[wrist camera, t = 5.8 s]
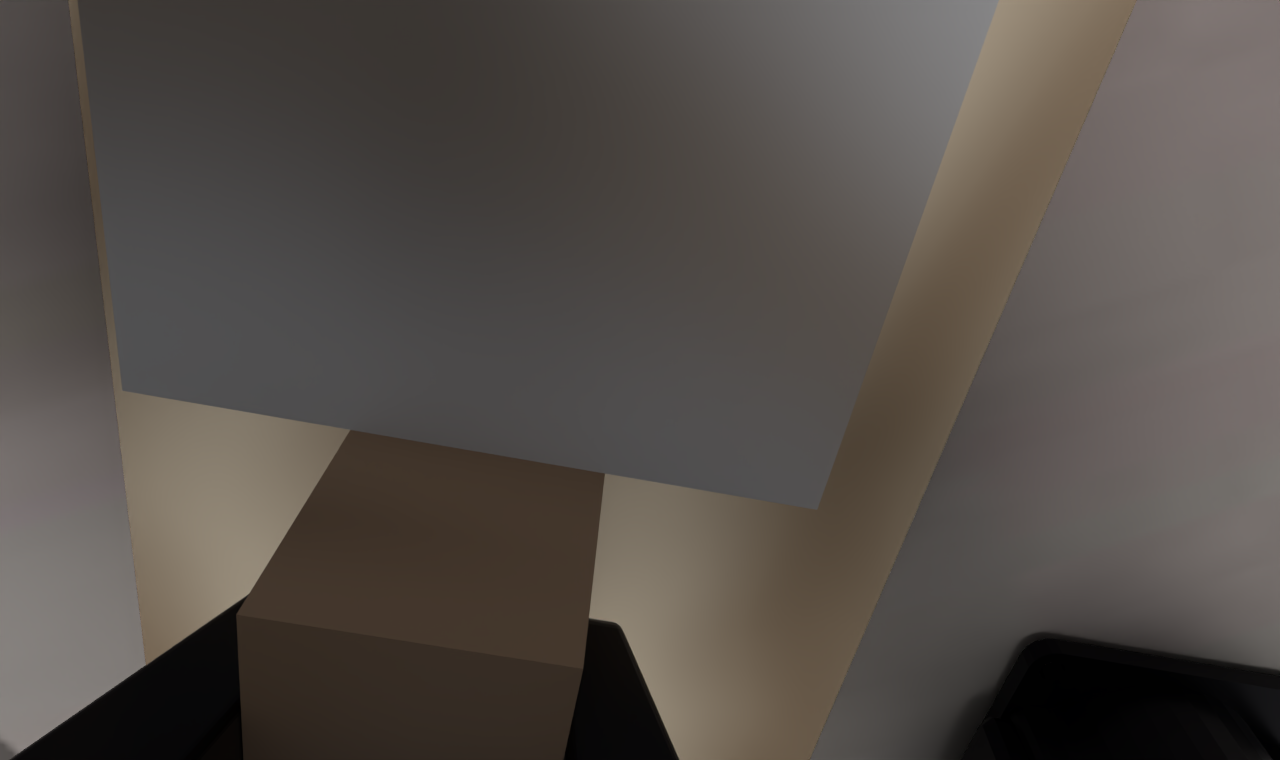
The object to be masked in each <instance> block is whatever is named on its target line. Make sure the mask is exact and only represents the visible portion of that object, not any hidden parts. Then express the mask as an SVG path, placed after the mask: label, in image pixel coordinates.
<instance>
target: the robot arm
mask: <svg viewBox="0 0 1280 760" xmlns="http://www.w3.org/2000/svg"><path fill="white" fill-rule="evenodd" d="M248 595H249V594H248ZM248 595H246V596H245V597H244V598H242V599H241V600H239V601H238V602H236V603H235V604H234V605H232V606H231V607H229V608H228V609H226V610H225V611H223V612H222V613H221V614H219V615H218V616H216V617H215V618H213V619H212V620H210V621H209V622H208V623H206V624H205V625H203V626H202V627H200V628H199V629H197V630H196V631H195V632H193V633H192V634H190V635H189V636H187V637H186V638H184V639H183V640H182V641H180V642H179V643H177V644H176V645H174V646H173V647H171V648H170V649H169V650H167V651H166V652H164V653H163V654H161V655H160V656H158V657H157V658H156V659H154V660H153V661H151V662H150V663H148V664H147V665H145V666H144V667H143V668H141V669H140V670H138V671H137V672H135V673H134V674H132V675H131V676H130V677H128V678H127V679H125V680H124V681H122V682H121V683H120V684H118V685H117V686H115V687H114V688H112V689H111V690H109V691H108V692H107V693H105V694H104V695H102V696H101V697H99V698H98V699H96V700H95V701H94V702H92V703H91V704H89V705H88V706H86V707H85V708H83V709H82V710H81V711H79V712H78V713H76V714H75V715H73V716H72V717H70V718H69V719H68V720H66V721H65V722H63V723H62V724H60V725H59V726H57V727H56V728H55V729H53V730H52V731H50V732H49V733H47V734H46V735H44V736H43V737H42V738H40V739H39V740H37V741H36V742H34V743H33V744H31V745H30V746H29V747H27V748H26V749H24V750H23V751H21V752H20V753H18V754H17V755H16V756H14V757H13V758H12V759H10V760H243V741H242V721H241V700H240V680H239V660H238V640H237V619H236V614H237V613H238V611H239V609H240V608H241V606H242V605H243V603H244V601H245V600H246V598H247V596H248ZM1050 662H1052V663H1050ZM1048 663H1049V664H1048ZM1045 664H1047V665H1045ZM563 760H679V758H678V755H677V753H676V751H675V748H674V746H673V744H672V741H671V739H670V737H669V735H668V732H667V730H666V728H665V725H664V723H663V721H662V718H661V716H660V714H659V712H658V709H657V707H656V705H655V702H654V700H653V698H652V696H651V693H650V691H649V689H648V686H647V684H646V682H645V679H644V677H643V675H642V673H641V670H640V668H639V666H638V663H637V661H636V659H635V657H634V654H633V652H632V650H631V647H630V645H629V643H628V640H627V638H626V636H625V634H624V632H623V630H622V628H621V626H620V625H618V624H617V623H615V622H610V621H604V620H598V619H592V618H589V621H588V630H587V639H586V648H585V657H584V666H583V672H582V677H581V681H580V686H579V690H578V695H577V700H576V704H575V709H574V713H573V718H572V722H571V727H570V732H569V736H568V741H567V745H566V750H565V754H564V759H563ZM961 760H1280V677H1279V676H1273V675H1267V674H1261V673H1255V672H1249V671H1243V670H1237V669H1231V668H1225V667H1219V666H1213V665H1207V664H1201V663H1195V662H1189V661H1183V660H1177V659H1171V658H1165V657H1159V656H1153V655H1147V654H1141V653H1135V652H1129V651H1123V650H1117V649H1111V648H1105V647H1099V646H1093V645H1087V644H1081V643H1075V642H1069V641H1063V640H1057V639H1043V640H1039V641H1035V642H1034V643H1032V644H1030V645H1028V646H1027V647H1026V648H1025V649H1024V651H1023V652H1022V653H1021V655H1020V657H1019V658H1018V660H1017V662H1016V664H1015V666H1014V667H1013V669H1012V671H1011V673H1010V674H1009V676H1008V678H1007V680H1006V682H1005V683H1004V685H1003V687H1002V689H1001V691H1000V692H999V694H998V696H997V698H996V700H995V701H994V703H993V705H992V707H991V709H990V710H989V712H988V714H987V716H986V717H985V719H984V721H983V723H982V724H981V725H980V727H979V728H978V730H977V732H976V734H975V736H974V737H973V739H972V741H971V743H970V745H969V746H968V748H967V750H966V752H965V753H964V755H963V757H962V759H961Z"/></svg>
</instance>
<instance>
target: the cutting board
mask: <svg viewBox="0 0 1280 760" xmlns="http://www.w3.org/2000/svg"><path fill="white" fill-rule="evenodd" d="M1136 1H1137V0H999V1H998V4H997V7H996V10H995V13H994V15H993V18H992V21H991V24H990V27H989V29H988V32H987V35H986V38H985V41H984V44H983V46H982V49H981V52H980V55H979V58H978V60H977V63H976V66H975V69H974V72H973V74H972V77H971V80H970V83H969V86H968V88H967V91H966V94H965V97H964V100H963V102H962V105H961V108H960V111H959V114H958V116H957V119H956V122H955V125H954V128H953V130H952V133H951V136H950V139H949V142H948V144H947V147H946V150H945V153H944V156H943V158H942V161H941V164H940V167H939V170H938V172H937V175H936V178H935V181H934V184H933V186H932V189H931V192H930V195H929V198H928V200H927V203H926V206H925V209H924V212H923V214H922V217H921V220H920V223H919V226H918V228H917V231H916V234H915V237H914V240H913V242H912V245H911V248H910V251H909V254H908V256H907V259H906V262H905V265H904V268H903V271H902V273H901V276H900V279H899V282H898V285H897V287H896V290H895V293H894V296H893V299H892V301H891V304H890V307H889V310H888V313H887V315H886V318H885V321H884V324H883V327H882V329H881V332H880V335H879V338H878V341H877V343H876V346H875V349H874V352H873V355H872V357H871V360H870V363H869V366H868V369H867V371H866V374H865V377H864V380H863V383H862V385H861V388H860V391H859V394H858V397H857V399H856V402H855V405H854V408H853V411H852V413H851V416H850V419H849V422H848V425H847V427H846V430H845V433H844V436H843V439H842V441H841V444H840V447H839V450H838V453H837V455H836V458H835V461H834V464H833V467H832V469H831V472H830V475H829V478H828V481H827V484H826V486H825V489H824V492H823V495H822V498H821V500H820V503H819V506H818V509H817V510H815V509H809V508H803V507H797V506H792V505H786V504H780V503H774V502H768V501H762V500H757V499H751V498H745V497H739V496H733V495H727V494H722V493H716V492H710V491H704V490H698V489H692V488H687V487H681V486H675V485H669V484H663V483H657V482H652V481H646V480H640V479H634V478H628V477H622V476H617V475H611V474H605V477H604V486H603V495H602V504H601V513H600V522H599V531H598V540H597V549H596V558H595V567H594V576H593V585H592V594H591V603H590V612H589V618H592V619H598V620H604V621H610V622H615V623H617V624H618V625H620V626H621V628H622V630H623V632H624V634H625V636H626V638H627V640H628V643H629V645H630V647H631V650H632V652H633V654H634V657H635V659H636V661H637V663H638V666H639V668H640V670H641V673H642V675H643V677H644V679H645V682H646V684H647V686H648V689H649V691H650V693H651V696H652V698H653V700H654V702H655V705H656V707H657V709H658V712H659V714H660V716H661V718H662V721H663V723H664V725H665V728H666V730H667V732H668V735H669V737H670V739H671V741H672V744H673V746H674V748H675V751H676V753H677V755H678V758H679V760H810V758H811V755H812V753H813V751H814V748H815V746H816V744H817V741H818V739H819V737H820V734H821V732H822V730H823V727H824V725H825V723H826V721H827V718H828V716H829V714H830V711H831V709H832V707H833V704H834V702H835V700H836V697H837V695H838V693H839V690H840V688H841V686H842V683H843V681H844V679H845V676H846V674H847V672H848V669H849V667H850V665H851V662H852V660H853V658H854V655H855V653H856V651H857V649H858V646H859V644H860V642H861V639H862V637H863V635H864V632H865V630H866V628H867V625H868V623H869V621H870V618H871V616H872V614H873V611H874V609H875V607H876V604H877V602H878V600H879V597H880V595H881V593H882V590H883V588H884V586H885V584H886V581H887V579H888V577H889V574H890V572H891V570H892V567H893V565H894V563H895V560H896V558H897V556H898V553H899V551H900V549H901V546H902V544H903V542H904V539H905V537H906V535H907V532H908V530H909V528H910V525H911V523H912V521H913V518H914V516H915V514H916V512H917V509H918V507H919V505H920V502H921V500H922V498H923V495H924V493H925V491H926V488H927V486H928V484H929V481H930V479H931V477H932V474H933V472H934V470H935V467H936V465H937V463H938V460H939V458H940V456H941V453H942V451H943V449H944V446H945V444H946V442H947V440H948V437H949V435H950V433H951V430H952V428H953V426H954V423H955V421H956V419H957V416H958V414H959V412H960V409H961V407H962V405H963V402H964V400H965V398H966V395H967V393H968V391H969V388H970V386H971V384H972V381H973V379H974V377H975V375H976V372H977V370H978V368H979V365H980V363H981V361H982V358H983V356H984V354H985V351H986V349H987V347H988V344H989V342H990V340H991V337H992V335H993V333H994V330H995V328H996V326H997V323H998V321H999V319H1000V316H1001V314H1002V312H1003V309H1004V307H1005V305H1006V303H1007V300H1008V298H1009V296H1010V293H1011V291H1012V289H1013V286H1014V284H1015V282H1016V279H1017V277H1018V275H1019V272H1020V270H1021V268H1022V265H1023V263H1024V261H1025V258H1026V256H1027V254H1028V251H1029V249H1030V247H1031V244H1032V242H1033V240H1034V237H1035V235H1036V233H1037V231H1038V228H1039V226H1040V224H1041V221H1042V219H1043V217H1044V214H1045V212H1046V210H1047V207H1048V205H1049V203H1050V200H1051V198H1052V196H1053V193H1054V191H1055V189H1056V186H1057V184H1058V182H1059V179H1060V177H1061V175H1062V172H1063V170H1064V168H1065V165H1066V163H1067V161H1068V159H1069V156H1070V154H1071V152H1072V149H1073V147H1074V145H1075V142H1076V140H1077V138H1078V135H1079V133H1080V131H1081V128H1082V126H1083V124H1084V121H1085V119H1086V117H1087V114H1088V112H1089V110H1090V107H1091V105H1092V103H1093V100H1094V98H1095V96H1096V94H1097V91H1098V89H1099V87H1100V84H1101V82H1102V80H1103V77H1104V75H1105V73H1106V70H1107V68H1108V66H1109V63H1110V61H1111V59H1112V56H1113V54H1114V52H1115V49H1116V47H1117V45H1118V42H1119V40H1120V38H1121V35H1122V33H1123V31H1124V28H1125V26H1126V24H1127V22H1128V19H1129V17H1130V15H1131V12H1132V10H1133V8H1134V5H1135V3H1136ZM68 3H69V12H70V20H71V29H72V37H73V46H74V54H75V63H76V71H77V80H78V88H79V97H80V106H81V114H82V123H83V131H84V140H85V148H86V157H87V165H88V174H89V182H90V191H91V200H92V208H93V217H94V225H95V234H96V242H97V251H98V259H99V268H100V276H101V285H102V293H103V302H104V311H105V319H106V328H107V336H108V345H109V353H110V362H111V370H112V379H113V387H114V396H115V405H116V413H117V422H118V430H119V439H120V447H121V456H122V464H123V473H124V481H125V490H126V499H127V507H128V516H129V524H130V533H131V541H132V550H133V558H134V567H135V575H136V584H137V593H138V601H139V610H140V618H141V627H142V635H143V644H144V652H145V661H146V665H147V664H148V663H150V662H151V661H153V660H154V659H156V658H157V657H158V656H160V655H161V654H163V653H164V652H166V651H167V650H169V649H170V648H171V647H173V646H174V645H176V644H177V643H179V642H180V641H182V640H183V639H184V638H186V637H187V636H189V635H190V634H192V633H193V632H195V631H196V630H197V629H199V628H200V627H202V626H203V625H205V624H206V623H208V622H209V621H210V620H212V619H213V618H215V617H216V616H218V615H219V614H221V613H222V612H223V611H225V610H226V609H228V608H229V607H231V606H232V605H234V604H235V603H236V602H238V601H239V600H241V599H242V598H244V597H245V596H246V595H248V594H249V593H250V592H251V590H252V588H253V587H254V585H255V583H256V582H257V580H258V579H259V577H260V575H261V574H262V572H263V571H264V569H265V567H266V566H267V564H268V562H269V561H270V559H271V558H272V556H273V554H274V553H275V551H276V549H277V548H278V546H279V545H280V543H281V541H282V540H283V538H284V536H285V535H286V533H287V532H288V530H289V528H290V527H291V525H292V524H293V522H294V520H295V519H296V517H297V515H298V514H299V512H300V511H301V509H302V507H303V506H304V504H305V502H306V501H307V499H308V498H309V496H310V494H311V493H312V491H313V490H314V488H315V486H316V485H317V483H318V481H319V480H320V478H321V477H322V475H323V473H324V472H325V470H326V468H327V467H328V465H329V464H330V462H331V460H332V459H333V457H334V455H335V454H336V452H337V451H338V449H339V447H340V446H341V444H342V443H343V441H344V439H345V438H346V436H347V434H348V433H349V431H350V430H348V429H342V428H337V427H331V426H325V425H319V424H313V423H307V422H302V421H296V420H290V419H284V418H278V417H272V416H267V415H261V414H255V413H249V412H243V411H237V410H232V409H226V408H220V407H214V406H208V405H202V404H197V403H191V402H185V401H179V400H173V399H167V398H162V397H156V396H150V395H144V394H138V393H132V392H127V391H122V383H121V374H120V366H119V357H118V348H117V340H116V331H115V322H114V314H113V305H112V296H111V288H110V279H109V270H108V262H107V253H106V244H105V236H104V227H103V218H102V210H101V201H100V192H99V183H98V175H97V166H96V157H95V149H94V140H93V131H92V123H91V114H90V105H89V97H88V88H87V79H86V71H85V62H84V53H83V45H82V36H81V27H80V19H79V10H78V1H77V0H68Z"/></svg>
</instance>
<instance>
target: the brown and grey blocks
mask: <svg viewBox="0 0 1280 760" xmlns="http://www.w3.org/2000/svg"><path fill="white" fill-rule="evenodd" d="M77 1H78V10H79V19H80V27H81V36H82V45H83V53H84V62H85V71H86V79H87V88H88V97H89V105H90V114H91V123H92V131H93V140H94V149H95V157H96V166H97V175H98V183H99V192H100V201H101V210H102V218H103V227H104V236H105V244H106V253H107V262H108V270H109V279H110V288H111V296H112V305H113V314H114V322H115V331H116V340H117V348H118V357H119V366H120V374H121V383H122V391H127V392H132V393H138V394H144V395H150V396H156V397H162V398H167V399H173V400H179V401H185V402H191V403H197V404H202V405H208V406H214V407H220V408H226V409H232V410H237V411H243V412H249V413H255V414H261V415H267V416H272V417H278V418H284V419H290V420H296V421H302V422H307V423H313V424H319V425H325V426H331V427H337V428H342V429H348V430H350V431H349V433H348V434H347V436H346V438H345V439H344V441H343V443H342V444H341V446H340V447H339V449H338V451H337V452H336V454H335V455H334V457H333V459H332V460H331V462H330V464H329V465H328V467H327V468H326V470H325V472H324V473H323V475H322V477H321V478H320V480H319V481H318V483H317V485H316V486H315V488H314V490H313V491H312V493H311V494H310V496H309V498H308V499H307V501H306V502H305V504H304V506H303V507H302V509H301V511H300V512H299V514H298V515H297V517H296V519H295V520H294V522H293V524H292V525H291V527H290V528H289V530H288V532H287V533H286V535H285V536H284V538H283V540H282V541H281V543H280V545H279V546H278V548H277V549H276V551H275V553H274V554H273V556H272V558H271V559H270V561H269V562H268V564H267V566H266V567H265V569H264V571H263V572H262V574H261V575H260V577H259V579H258V580H257V582H256V583H255V585H254V587H253V588H252V590H251V592H250V593H249V595H248V596H247V598H246V600H245V601H244V603H243V605H242V606H241V608H240V609H239V611H238V613H237V614H236V619H237V640H238V660H239V680H240V700H241V721H242V741H243V760H563V759H564V754H565V750H566V745H567V741H568V736H569V732H570V727H571V722H572V718H573V713H574V709H575V704H576V700H577V695H578V690H579V686H580V681H581V677H582V672H583V666H584V657H585V648H586V639H587V630H588V621H589V612H590V603H591V594H592V585H593V576H594V567H595V558H596V549H597V540H598V531H599V522H600V513H601V504H602V495H603V486H604V477H605V474H611V475H617V476H622V477H628V478H634V479H640V480H646V481H652V482H657V483H663V484H669V485H675V486H681V487H687V488H692V489H698V490H704V491H710V492H716V493H722V494H727V495H733V496H739V497H745V498H751V499H757V500H762V501H768V502H774V503H780V504H786V505H792V506H797V507H803V508H809V509H815V510H817V509H818V506H819V503H820V500H821V498H822V495H823V492H824V489H825V486H826V484H827V481H828V478H829V475H830V472H831V469H832V467H833V464H834V461H835V458H836V455H837V453H838V450H839V447H840V444H841V441H842V439H843V436H844V433H845V430H846V427H847V425H848V422H849V419H850V416H851V413H852V411H853V408H854V405H855V402H856V399H857V397H858V394H859V391H860V388H861V385H862V383H863V380H864V377H865V374H866V371H867V369H868V366H869V363H870V360H871V357H872V355H873V352H874V349H875V346H876V343H877V341H878V338H879V335H880V332H881V329H882V327H883V324H884V321H885V318H886V315H887V313H888V310H889V307H890V304H891V301H892V299H893V296H894V293H895V290H896V287H897V285H898V282H899V279H900V276H901V273H902V271H903V268H904V265H905V262H906V259H907V256H908V254H909V251H910V248H911V245H912V242H913V240H914V237H915V234H916V231H917V228H918V226H919V223H920V220H921V217H922V214H923V212H924V209H925V206H926V203H927V200H928V198H929V195H930V192H931V189H932V186H933V184H934V181H935V178H936V175H937V172H938V170H939V167H940V164H941V161H942V158H943V156H944V153H945V150H946V147H947V144H948V142H949V139H950V136H951V133H952V130H953V128H954V125H955V122H956V119H957V116H958V114H959V111H960V108H961V105H962V102H963V100H964V97H965V94H966V91H967V88H968V86H969V83H970V80H971V77H972V74H973V72H974V69H975V66H976V63H977V60H978V58H979V55H980V52H981V49H982V46H983V44H984V41H985V38H986V35H987V32H988V29H989V27H990V24H991V21H992V18H993V15H994V13H995V10H996V7H997V4H998V1H999V0H77Z"/></svg>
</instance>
